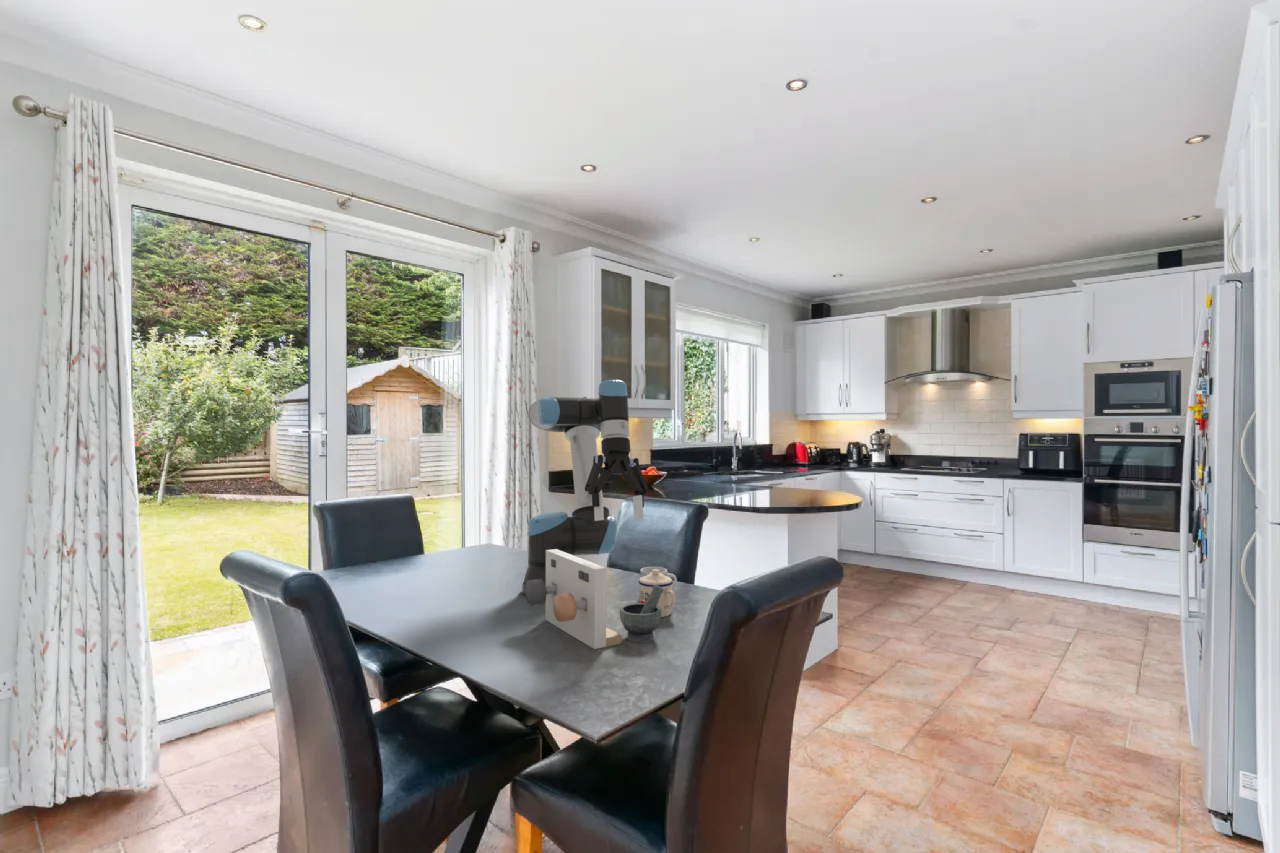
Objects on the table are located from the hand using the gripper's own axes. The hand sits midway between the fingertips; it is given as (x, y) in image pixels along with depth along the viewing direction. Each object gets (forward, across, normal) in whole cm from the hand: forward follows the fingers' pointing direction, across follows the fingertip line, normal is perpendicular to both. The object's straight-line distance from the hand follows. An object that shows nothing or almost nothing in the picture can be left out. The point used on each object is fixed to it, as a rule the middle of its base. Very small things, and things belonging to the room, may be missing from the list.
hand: (619, 520), depth 167 cm
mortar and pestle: (+28, -1, -7) cm, 29 cm away
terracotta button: (+22, -16, -1) cm, 27 cm away
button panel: (+26, -9, +7) cm, 28 cm away
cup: (+21, +27, +15) cm, 38 cm away
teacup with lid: (+25, +15, +3) cm, 29 cm away
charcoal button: (+19, -13, +14) cm, 27 cm away
